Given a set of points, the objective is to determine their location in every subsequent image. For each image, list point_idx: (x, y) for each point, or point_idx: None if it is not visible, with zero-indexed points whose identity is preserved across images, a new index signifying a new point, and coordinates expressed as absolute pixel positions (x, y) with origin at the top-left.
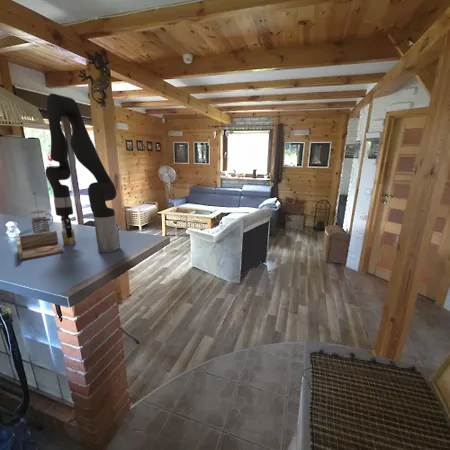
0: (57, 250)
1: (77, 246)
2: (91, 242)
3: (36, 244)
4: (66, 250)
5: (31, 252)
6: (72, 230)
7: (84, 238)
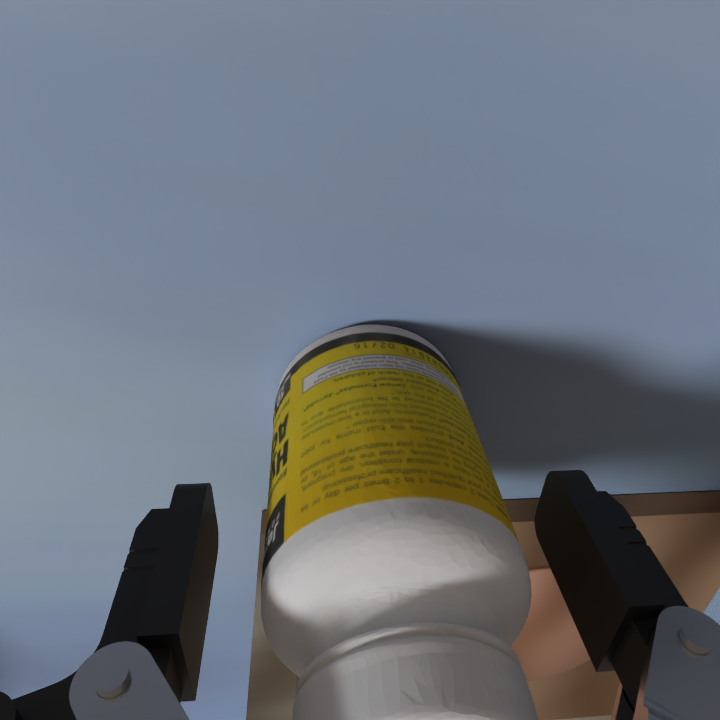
0: (695, 547)
1: (656, 326)
2: (646, 47)
3: None
4: (696, 456)
5: (531, 690)
6: (501, 543)
7: (173, 107)
